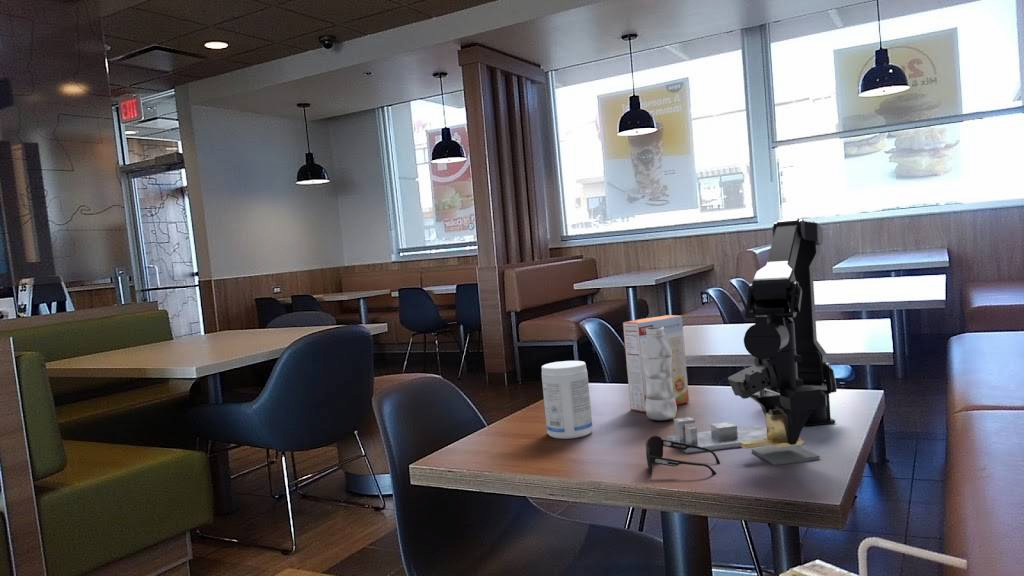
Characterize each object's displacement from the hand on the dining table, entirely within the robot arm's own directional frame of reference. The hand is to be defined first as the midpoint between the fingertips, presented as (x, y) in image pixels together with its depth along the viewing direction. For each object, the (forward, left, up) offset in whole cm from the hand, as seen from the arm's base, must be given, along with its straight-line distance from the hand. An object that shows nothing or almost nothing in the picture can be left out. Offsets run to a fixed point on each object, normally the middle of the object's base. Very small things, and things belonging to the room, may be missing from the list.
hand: (784, 440), depth 121 cm
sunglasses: (+18, -1, -3) cm, 18 cm away
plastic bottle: (+10, -34, -3) cm, 35 cm away
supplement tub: (+31, -31, -3) cm, 44 cm away
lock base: (+5, -13, -3) cm, 14 cm away
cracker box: (+6, -47, -3) cm, 47 cm away
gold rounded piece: (+3, 0, 0) cm, 3 cm away
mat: (0, 0, -3) cm, 3 cm away
